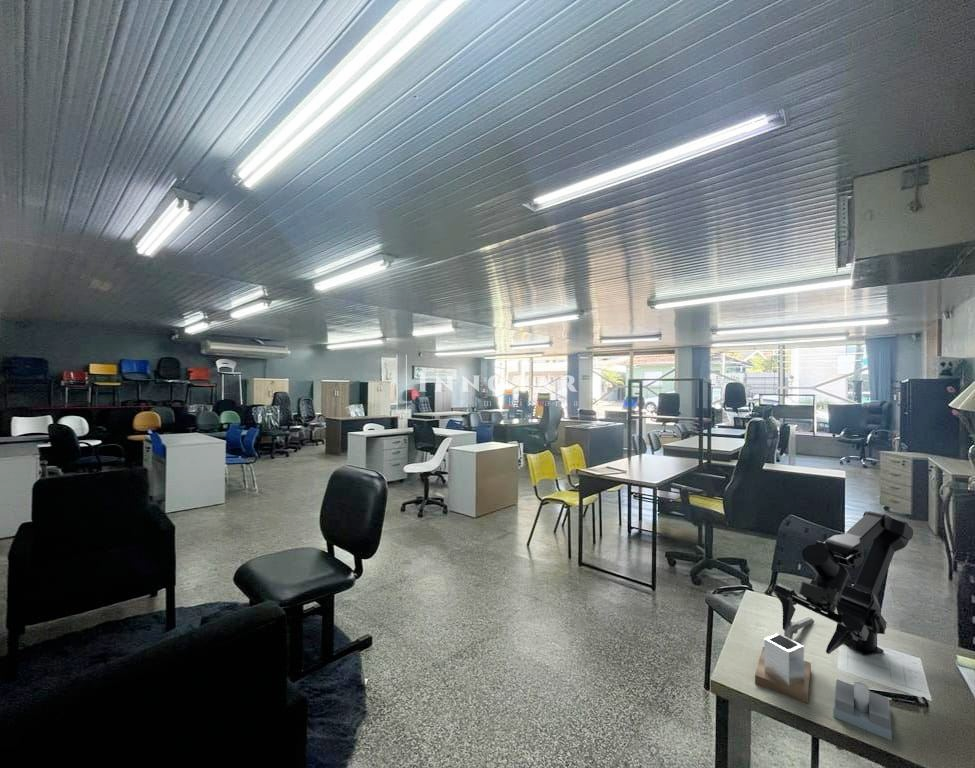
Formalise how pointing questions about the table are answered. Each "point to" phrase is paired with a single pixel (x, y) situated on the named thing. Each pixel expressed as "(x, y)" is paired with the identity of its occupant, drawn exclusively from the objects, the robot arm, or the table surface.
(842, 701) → the vise
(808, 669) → the walnut board
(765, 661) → the steel sleeve
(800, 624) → the caliper
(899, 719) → the table surface
